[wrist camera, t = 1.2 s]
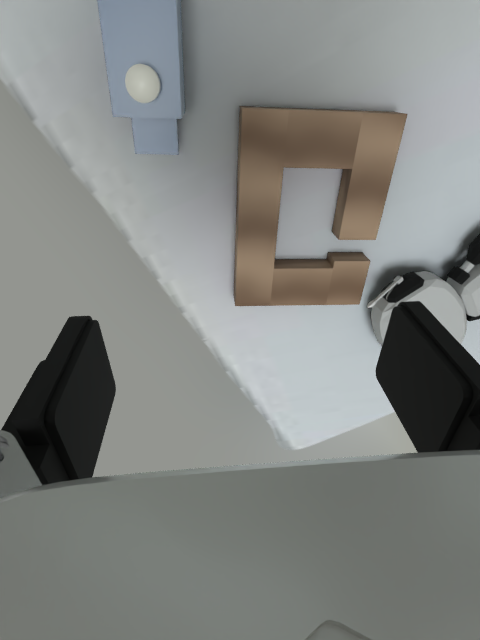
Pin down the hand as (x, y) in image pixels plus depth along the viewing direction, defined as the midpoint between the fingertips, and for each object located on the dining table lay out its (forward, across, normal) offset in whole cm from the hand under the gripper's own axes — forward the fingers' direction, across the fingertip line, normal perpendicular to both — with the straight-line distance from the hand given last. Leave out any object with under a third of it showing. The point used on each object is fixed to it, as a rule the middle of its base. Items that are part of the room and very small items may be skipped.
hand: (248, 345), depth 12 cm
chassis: (+22, -7, +3) cm, 23 cm away
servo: (+22, +4, -8) cm, 24 cm away
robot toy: (+22, -22, +12) cm, 33 cm away
